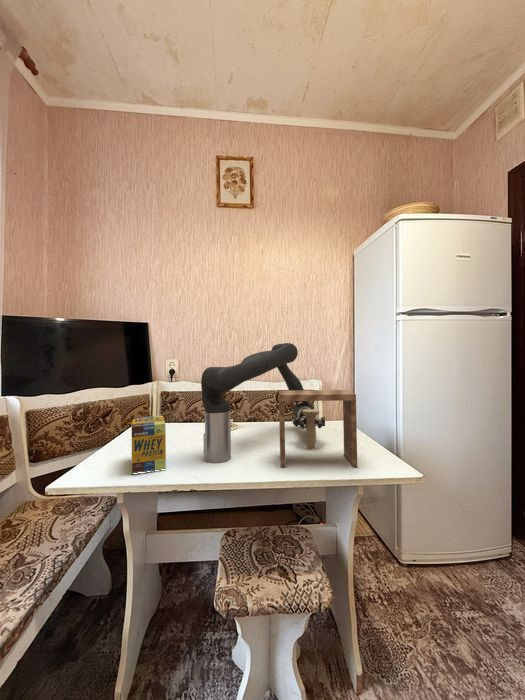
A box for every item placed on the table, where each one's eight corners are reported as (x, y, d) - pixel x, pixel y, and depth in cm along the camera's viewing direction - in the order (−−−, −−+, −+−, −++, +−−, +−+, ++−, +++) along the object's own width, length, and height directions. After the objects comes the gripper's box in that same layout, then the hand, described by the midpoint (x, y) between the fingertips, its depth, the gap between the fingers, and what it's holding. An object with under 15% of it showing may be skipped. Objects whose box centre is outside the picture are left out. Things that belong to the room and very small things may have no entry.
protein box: (131, 476, 93) (131, 426, 94) (133, 460, 108) (132, 417, 108) (166, 470, 97) (165, 423, 97) (163, 456, 112) (162, 414, 112)
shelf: (280, 467, 98) (279, 395, 98) (280, 455, 110) (278, 390, 110) (357, 467, 97) (355, 394, 97) (348, 455, 109) (346, 389, 109)
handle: (319, 450, 115) (319, 411, 114) (302, 450, 115) (302, 411, 115) (318, 446, 119) (318, 409, 119) (302, 446, 120) (302, 409, 120)
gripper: (290, 408, 132) (292, 416, 115) (322, 408, 131) (330, 416, 115) (290, 425, 132) (293, 435, 115) (323, 425, 131) (330, 435, 115)
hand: (311, 425), depth 115 cm, fingers open, 6 cm apart
